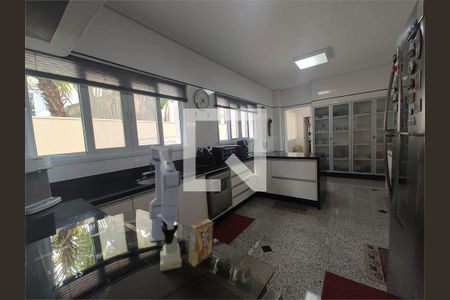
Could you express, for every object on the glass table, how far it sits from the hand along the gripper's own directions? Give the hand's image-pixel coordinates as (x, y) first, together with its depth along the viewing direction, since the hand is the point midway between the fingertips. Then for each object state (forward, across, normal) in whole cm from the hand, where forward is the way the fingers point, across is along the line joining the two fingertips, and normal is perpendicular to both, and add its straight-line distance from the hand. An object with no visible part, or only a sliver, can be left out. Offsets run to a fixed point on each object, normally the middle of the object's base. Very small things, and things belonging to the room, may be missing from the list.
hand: (168, 237), depth 66 cm
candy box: (+11, +2, +13) cm, 17 cm away
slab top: (+8, 0, +1) cm, 8 cm away
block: (+5, 0, +1) cm, 5 cm away
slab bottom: (+11, 0, +1) cm, 11 cm away
